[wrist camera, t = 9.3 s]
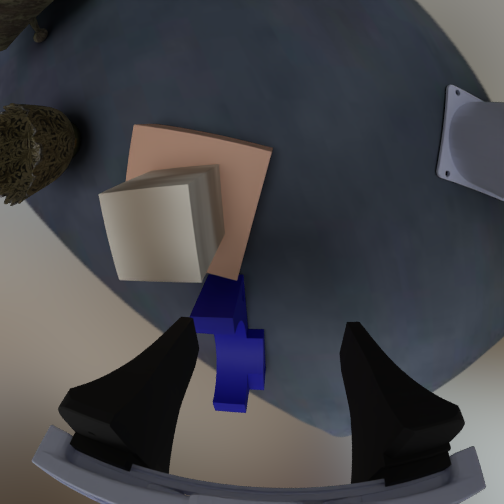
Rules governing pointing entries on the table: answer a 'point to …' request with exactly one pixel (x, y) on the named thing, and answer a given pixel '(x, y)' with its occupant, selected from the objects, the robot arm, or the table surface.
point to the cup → (33, 149)
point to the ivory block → (165, 224)
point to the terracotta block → (231, 178)
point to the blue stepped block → (231, 341)
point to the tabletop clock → (20, 19)
